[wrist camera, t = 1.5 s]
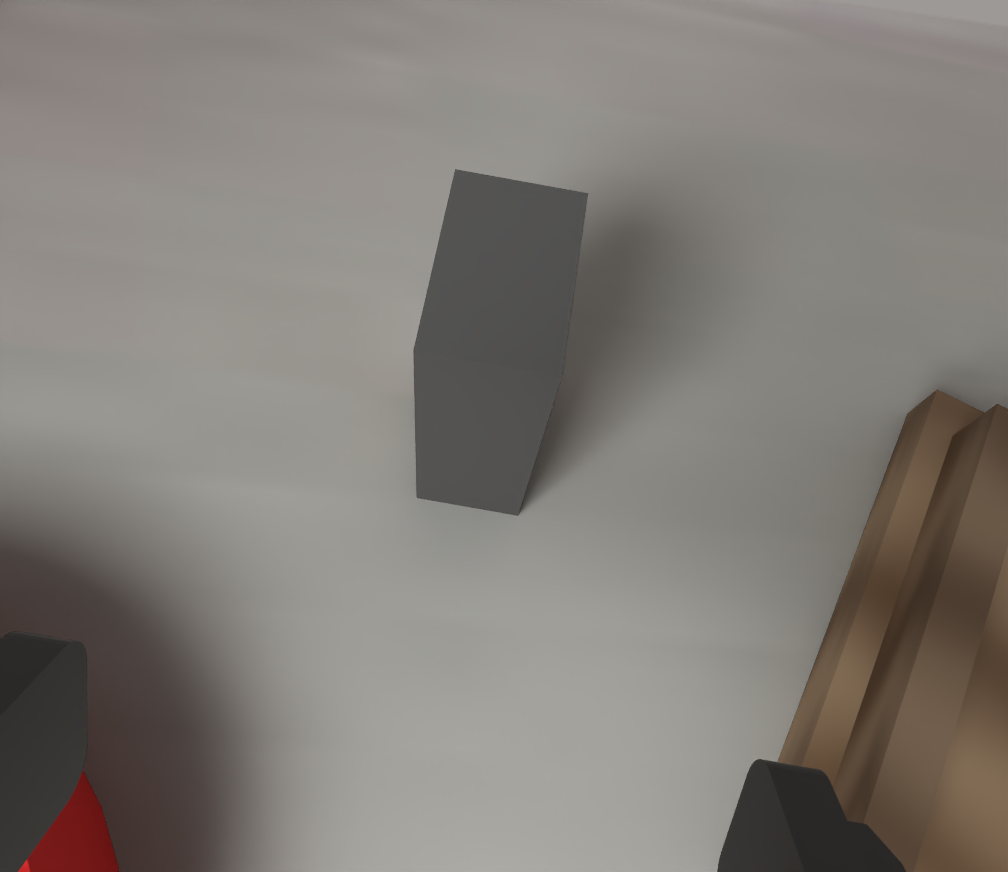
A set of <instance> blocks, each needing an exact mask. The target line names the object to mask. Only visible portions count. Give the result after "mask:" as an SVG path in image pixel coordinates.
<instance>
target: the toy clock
mask: <svg viewBox="0 0 1008 872" xmlns="http://www.w3.org/2000/svg"><path fill="white" fill-rule="evenodd" d="M18 872H119V867H118V864H117V860H116V857H115V853H114V850H113V846H112V843H111V839H110V836H109V832H108V829H107V825H106V822H105V818H104V815H103V811H102V808H101V805H100V803H99V801H98V799H97V797H96V795H95V793H94V791H93V789H92V787H91V785H90V783H89V781H88V779H87V777H86V776H85V774H84V772H83V770H82V773H81V776H80V779H79V781H78V784H77V786H76V788H75V790H74V792H73V794H72V796H71V798H70V800H69V801H68V803H67V804H66V806H65V807H64V808H63V810H62V811H61V813H60V814H59V815H58V817H57V818H56V820H55V821H54V822H53V824H52V825H51V827H50V828H49V829H48V831H47V832H46V834H45V835H44V836H43V838H42V839H41V841H40V842H39V843H38V845H37V846H36V848H35V849H34V850H33V852H32V853H31V854H30V856H29V857H28V859H27V860H26V861H25V863H24V864H23V866H22V867H21V868H20V870H19V871H18Z"/></svg>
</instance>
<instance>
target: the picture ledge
mask: <svg viewBox="0 0 1008 872" xmlns="http://www.w3.org/2000/svg"><path fill="white" fill-rule="evenodd" d="M778 762H779V763H785V764H791V765H797V766H802V767H808V768H814V769H819V770H822V771H823V772H824V773H825V774H826V775H827V776H828V778H829V780H830V782H831V784H832V787H833V789H834V791H835V794H836V796H837V798H838V800H839V803H840V805H841V807H842V809H843V812H844V814H845V816H846V819H847V821H852V822H857V823H863V824H867V825H868V826H869V827H870V828H871V829H872V830H873V832H874V833H875V834H876V835H877V836H878V837H879V838H880V839H881V841H882V842H883V843H884V844H885V845H886V846H887V847H888V848H889V849H890V851H891V852H892V853H893V854H894V855H895V856H896V857H897V858H898V860H899V861H900V862H901V863H902V864H903V866H904V868H905V870H906V872H1008V409H1007V408H1004V407H1002V406H1000V405H998V404H997V405H995V406H994V407H992V408H991V409H990V410H988V411H987V412H985V413H984V412H982V411H979V410H977V409H975V408H973V407H971V406H969V405H967V404H965V403H963V402H961V401H959V400H957V399H955V398H953V397H951V396H949V395H947V394H945V393H943V392H941V391H939V390H936V391H935V392H934V393H932V394H931V395H930V396H929V397H928V398H926V399H925V400H924V401H923V402H922V403H920V404H919V405H918V406H917V407H915V408H914V409H913V410H912V411H911V412H909V413H908V414H907V417H906V419H905V422H904V425H903V428H902V430H901V433H900V436H899V438H898V441H897V444H896V446H895V449H894V452H893V454H892V457H891V460H890V462H889V465H888V468H887V470H886V473H885V476H884V478H883V481H882V484H881V487H880V489H879V492H878V495H877V497H876V500H875V503H874V505H873V508H872V511H871V513H870V516H869V519H868V521H867V524H866V527H865V529H864V532H863V535H862V537H861V540H860V543H859V546H858V548H857V551H856V554H855V556H854V559H853V562H852V564H851V567H850V570H849V572H848V575H847V578H846V580H845V583H844V586H843V588H842V591H841V594H840V596H839V599H838V602H837V604H836V607H835V610H834V613H833V615H832V618H831V621H830V623H829V626H828V629H827V631H826V634H825V637H824V639H823V642H822V645H821V647H820V650H819V653H818V655H817V658H816V661H815V663H814V666H813V669H812V672H811V674H810V677H809V680H808V682H807V685H806V688H805V690H804V693H803V696H802V698H801V701H800V704H799V706H798V709H797V712H796V714H795V717H794V720H793V722H792V725H791V728H790V731H789V733H788V736H787V739H786V741H785V744H784V747H783V749H782V752H781V755H780V757H779V760H778Z"/></svg>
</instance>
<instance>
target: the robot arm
mask: <svg viewBox="0 0 1008 872" xmlns="http://www.w3.org/2000/svg"><path fill="white" fill-rule="evenodd" d="M86 752H87V656H86V650H85V648H84V645H83V644H82V643H81V642H79V641H73V640H67V639H61V638H55V637H49V636H43V635H38V634H32V633H26V632H20V631H14V632H10V633H8V634H7V635H5V636H4V637H3V638H1V639H0V872H18V871H19V870H20V868H21V867H22V866H23V864H24V863H25V861H26V860H27V859H28V857H29V856H30V854H31V853H32V852H33V850H34V849H35V848H36V846H37V845H38V843H39V842H40V841H41V839H42V838H43V836H44V835H45V834H46V832H47V831H48V829H49V828H50V827H51V825H52V824H53V822H54V821H55V820H56V818H57V817H58V815H59V814H60V813H61V811H62V810H63V808H64V807H65V806H66V804H67V803H68V801H69V800H70V798H71V796H72V794H73V792H74V790H75V788H76V786H77V784H78V781H79V779H80V776H81V773H82V770H83V767H84V763H85V758H86ZM717 872H906V870H905V868H904V866H903V864H902V863H901V862H900V861H899V860H898V858H897V857H896V856H895V855H894V854H893V853H892V852H891V851H890V849H889V848H888V847H887V846H886V845H885V844H884V843H883V842H882V841H881V839H880V838H879V837H878V836H877V835H876V834H875V833H874V832H873V830H872V829H871V828H870V827H869V826H868V825H867V824H863V823H857V822H852V821H847V819H846V816H845V814H844V812H843V809H842V807H841V805H840V803H839V800H838V798H837V796H836V794H835V791H834V789H833V787H832V784H831V782H830V780H829V778H828V776H827V775H826V774H825V773H824V772H823V771H822V770H819V769H814V768H808V767H802V766H797V765H791V764H785V763H779V762H773V761H767V760H761V759H758V760H756V761H754V763H753V764H752V765H751V767H750V769H749V771H748V774H747V777H746V780H745V783H744V786H743V789H742V792H741V795H740V798H739V801H738V804H737V807H736V810H735V813H734V816H733V819H732V822H731V825H730V828H729V831H728V834H727V837H726V840H725V843H724V846H723V849H722V852H721V855H720V859H719V864H718V871H717Z"/></svg>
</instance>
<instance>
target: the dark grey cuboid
mask: <svg viewBox="0 0 1008 872" xmlns="http://www.w3.org/2000/svg"><path fill="white" fill-rule="evenodd" d="M587 197H588V193H583V192H577V191H572V190H566V189H561V188H555V187H550V186H544V185H539V184H533V183H528V182H522V181H517V180H511V179H506V178H500V177H495V176H489V175H484V174H478V173H473V172H467V171H462V170H456V169H455V173H454V177H453V181H452V186H451V190H450V194H449V199H448V203H447V207H446V212H445V216H444V220H443V225H442V229H441V233H440V238H439V242H438V246H437V251H436V255H435V259H434V264H433V268H432V272H431V277H430V281H429V286H428V290H427V294H426V299H425V303H424V307H423V312H422V316H421V320H420V325H419V329H418V333H417V338H416V342H415V346H414V395H415V442H416V490H417V498H421V499H427V500H432V501H438V502H444V503H450V504H455V505H461V506H467V507H472V508H478V509H484V510H490V511H495V512H501V513H507V514H512V515H518V514H519V511H520V508H521V504H522V501H523V498H524V495H525V492H526V489H527V485H528V482H529V479H530V476H531V473H532V470H533V467H534V463H535V460H536V457H537V454H538V451H539V448H540V445H541V441H542V438H543V435H544V432H545V429H546V426H547V423H548V419H549V416H550V413H551V410H552V407H553V404H554V401H555V397H556V394H557V391H558V388H559V385H560V382H561V379H562V373H563V366H564V359H565V352H566V345H567V338H568V331H569V324H570V317H571V310H572V303H573V296H574V289H575V282H576V275H577V267H578V260H579V253H580V246H581V239H582V232H583V225H584V218H585V211H586V204H587Z"/></svg>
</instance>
